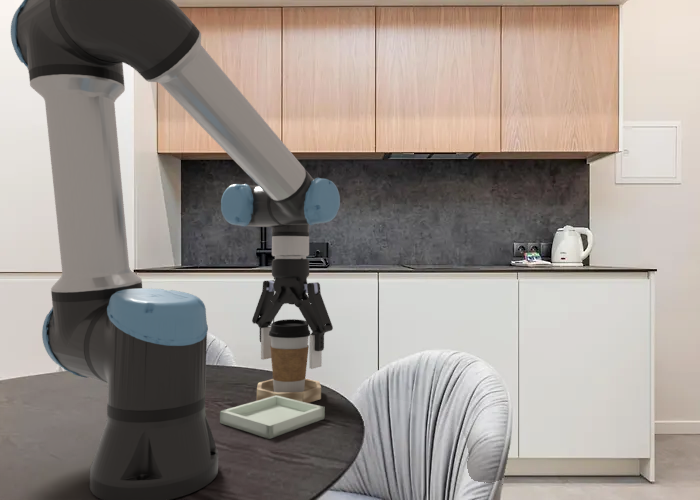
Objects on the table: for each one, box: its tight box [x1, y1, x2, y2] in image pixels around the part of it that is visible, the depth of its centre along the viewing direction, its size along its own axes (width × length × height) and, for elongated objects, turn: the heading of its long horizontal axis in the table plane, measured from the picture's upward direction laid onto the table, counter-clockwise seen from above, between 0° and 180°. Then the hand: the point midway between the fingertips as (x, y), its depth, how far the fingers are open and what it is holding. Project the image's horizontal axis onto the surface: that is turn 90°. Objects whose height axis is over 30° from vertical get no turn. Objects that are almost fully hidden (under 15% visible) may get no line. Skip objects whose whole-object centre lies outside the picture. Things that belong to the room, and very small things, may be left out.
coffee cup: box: [269, 318, 311, 393], centre depth 104 cm, size 8×8×15 cm
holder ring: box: [256, 378, 322, 404], centre depth 104 cm, size 13×13×2 cm
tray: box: [219, 395, 326, 440], centre depth 88 cm, size 13×12×2 cm
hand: (290, 362), depth 104 cm, fingers open, 13 cm apart
